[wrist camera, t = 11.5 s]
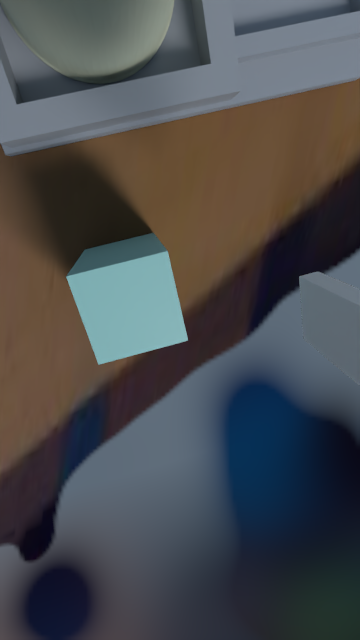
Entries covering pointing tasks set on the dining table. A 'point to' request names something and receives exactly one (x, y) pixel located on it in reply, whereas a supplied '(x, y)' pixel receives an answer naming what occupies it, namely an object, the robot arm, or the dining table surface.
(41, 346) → the dining table surface
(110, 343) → the block
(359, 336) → the robot arm
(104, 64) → the can
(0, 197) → the dining table surface
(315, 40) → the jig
